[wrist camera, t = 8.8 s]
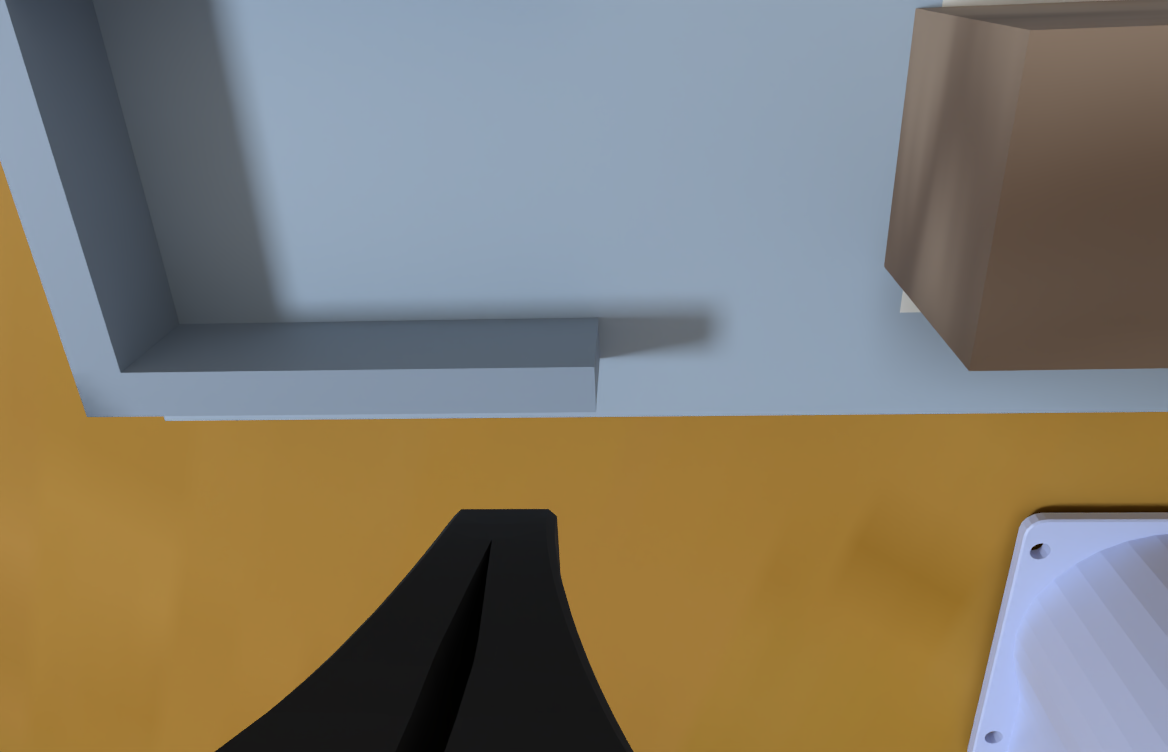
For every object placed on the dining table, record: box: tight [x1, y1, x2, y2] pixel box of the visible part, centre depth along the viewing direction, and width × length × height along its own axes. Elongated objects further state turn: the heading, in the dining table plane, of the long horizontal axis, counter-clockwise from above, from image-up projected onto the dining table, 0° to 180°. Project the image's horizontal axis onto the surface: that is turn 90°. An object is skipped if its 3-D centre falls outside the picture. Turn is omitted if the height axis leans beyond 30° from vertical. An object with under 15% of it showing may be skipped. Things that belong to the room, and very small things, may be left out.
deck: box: [0, 0, 1168, 421], centre depth 16 cm, size 17×24×4 cm
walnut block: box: [884, 0, 1168, 371], centre depth 14 cm, size 5×5×5 cm
